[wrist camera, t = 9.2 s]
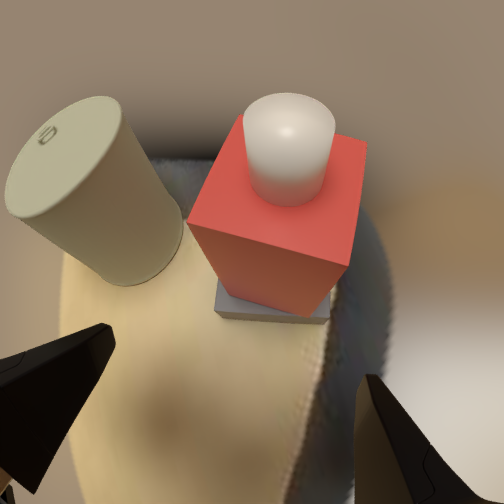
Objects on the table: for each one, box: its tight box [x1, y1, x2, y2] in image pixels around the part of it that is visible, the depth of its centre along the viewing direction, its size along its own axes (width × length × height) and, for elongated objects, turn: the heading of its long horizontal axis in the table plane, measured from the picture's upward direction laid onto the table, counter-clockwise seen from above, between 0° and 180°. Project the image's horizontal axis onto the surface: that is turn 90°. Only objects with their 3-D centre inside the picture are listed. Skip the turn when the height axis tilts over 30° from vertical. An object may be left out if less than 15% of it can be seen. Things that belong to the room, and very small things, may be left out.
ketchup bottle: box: [186, 93, 367, 318], centre depth 12 cm, size 5×5×12 cm
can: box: [5, 96, 183, 286], centre depth 18 cm, size 9×9×12 cm
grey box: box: [214, 278, 330, 324], centre depth 20 cm, size 6×7×3 cm
